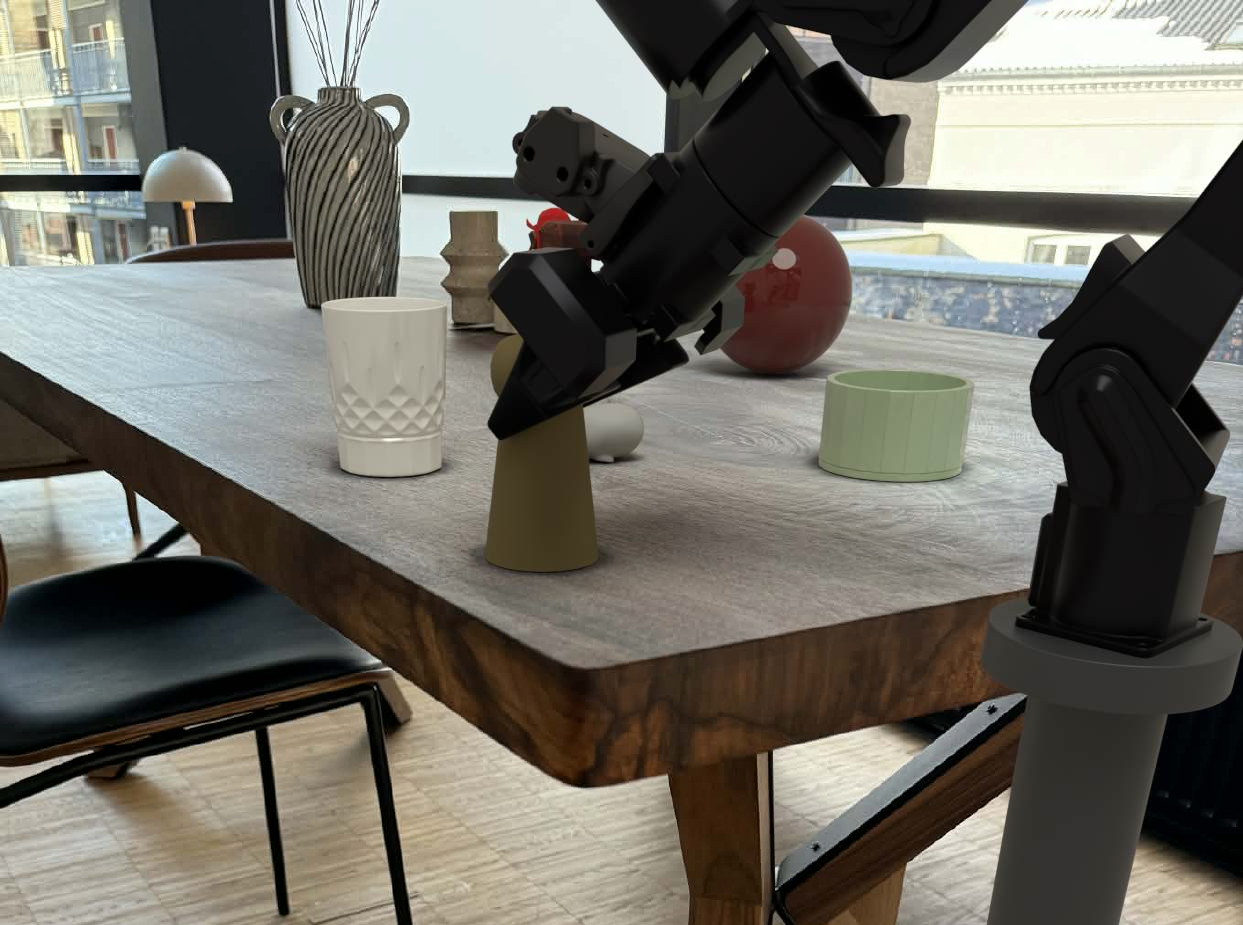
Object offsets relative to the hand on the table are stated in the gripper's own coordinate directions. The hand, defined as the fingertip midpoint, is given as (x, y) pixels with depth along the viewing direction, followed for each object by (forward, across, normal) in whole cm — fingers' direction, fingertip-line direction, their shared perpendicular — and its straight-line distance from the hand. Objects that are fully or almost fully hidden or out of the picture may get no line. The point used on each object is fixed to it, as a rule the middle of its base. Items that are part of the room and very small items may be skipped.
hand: (518, 424), depth 74 cm
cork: (+4, 0, +6) cm, 7 cm away
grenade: (+17, -42, -7) cm, 46 cm away
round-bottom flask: (+11, -66, -1) cm, 67 cm away
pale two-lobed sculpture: (+10, -23, 0) cm, 25 cm away
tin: (-4, -31, +13) cm, 34 cm away
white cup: (+17, -16, -8) cm, 24 cm away
